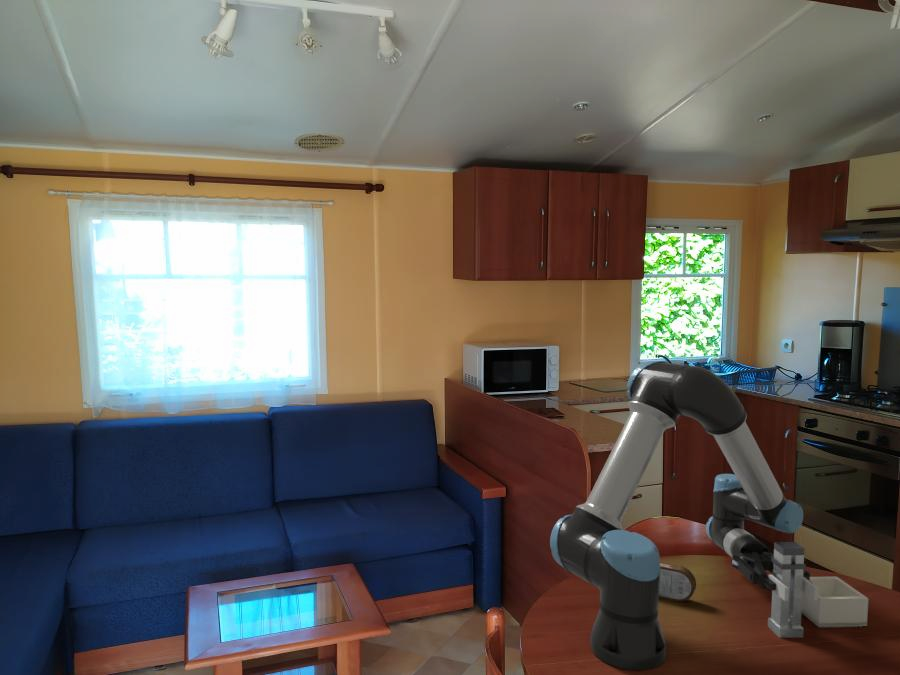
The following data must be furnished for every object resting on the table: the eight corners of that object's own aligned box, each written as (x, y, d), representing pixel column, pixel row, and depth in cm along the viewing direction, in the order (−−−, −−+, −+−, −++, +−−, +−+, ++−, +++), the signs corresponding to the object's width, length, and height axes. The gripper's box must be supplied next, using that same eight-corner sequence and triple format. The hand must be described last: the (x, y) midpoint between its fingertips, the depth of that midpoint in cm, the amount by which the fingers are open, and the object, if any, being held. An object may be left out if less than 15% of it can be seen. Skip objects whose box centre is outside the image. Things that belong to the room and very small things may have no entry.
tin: (695, 600, 155) (697, 567, 154) (694, 606, 152) (695, 572, 152) (632, 587, 162) (633, 554, 161) (629, 592, 159) (630, 559, 158)
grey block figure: (779, 637, 138) (783, 549, 137) (767, 626, 143) (771, 541, 142) (803, 637, 139) (807, 549, 137) (790, 625, 143) (794, 540, 142)
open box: (818, 627, 143) (820, 599, 142) (790, 603, 154) (791, 577, 153) (866, 626, 143) (868, 598, 143) (835, 602, 154) (836, 576, 154)
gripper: (782, 564, 159) (843, 610, 136) (708, 565, 158) (757, 612, 135) (783, 534, 158) (845, 576, 135) (709, 535, 157) (758, 577, 134)
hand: (801, 594), depth 135 cm, fingers open, 6 cm apart
